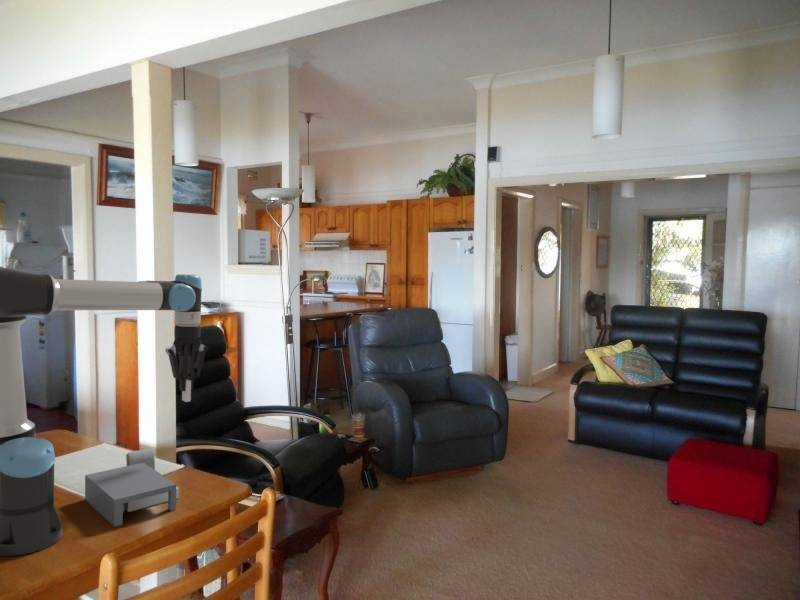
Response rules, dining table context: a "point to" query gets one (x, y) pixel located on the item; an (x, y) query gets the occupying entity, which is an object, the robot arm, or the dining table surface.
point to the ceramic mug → (141, 457)
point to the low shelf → (125, 489)
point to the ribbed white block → (148, 501)
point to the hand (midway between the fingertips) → (186, 400)
